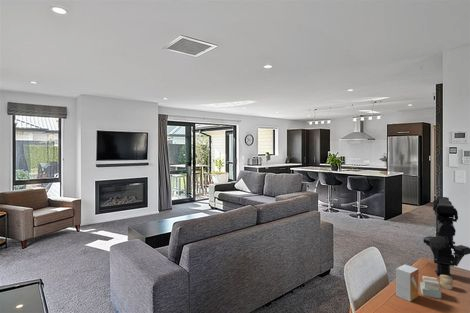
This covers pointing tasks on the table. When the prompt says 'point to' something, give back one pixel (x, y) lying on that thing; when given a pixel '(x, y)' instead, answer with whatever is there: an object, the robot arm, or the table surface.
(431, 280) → the cream top block
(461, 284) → the table surface
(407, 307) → the table surface
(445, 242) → the robot arm
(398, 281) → the small box
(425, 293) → the sage base block
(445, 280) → the maple cylinder
